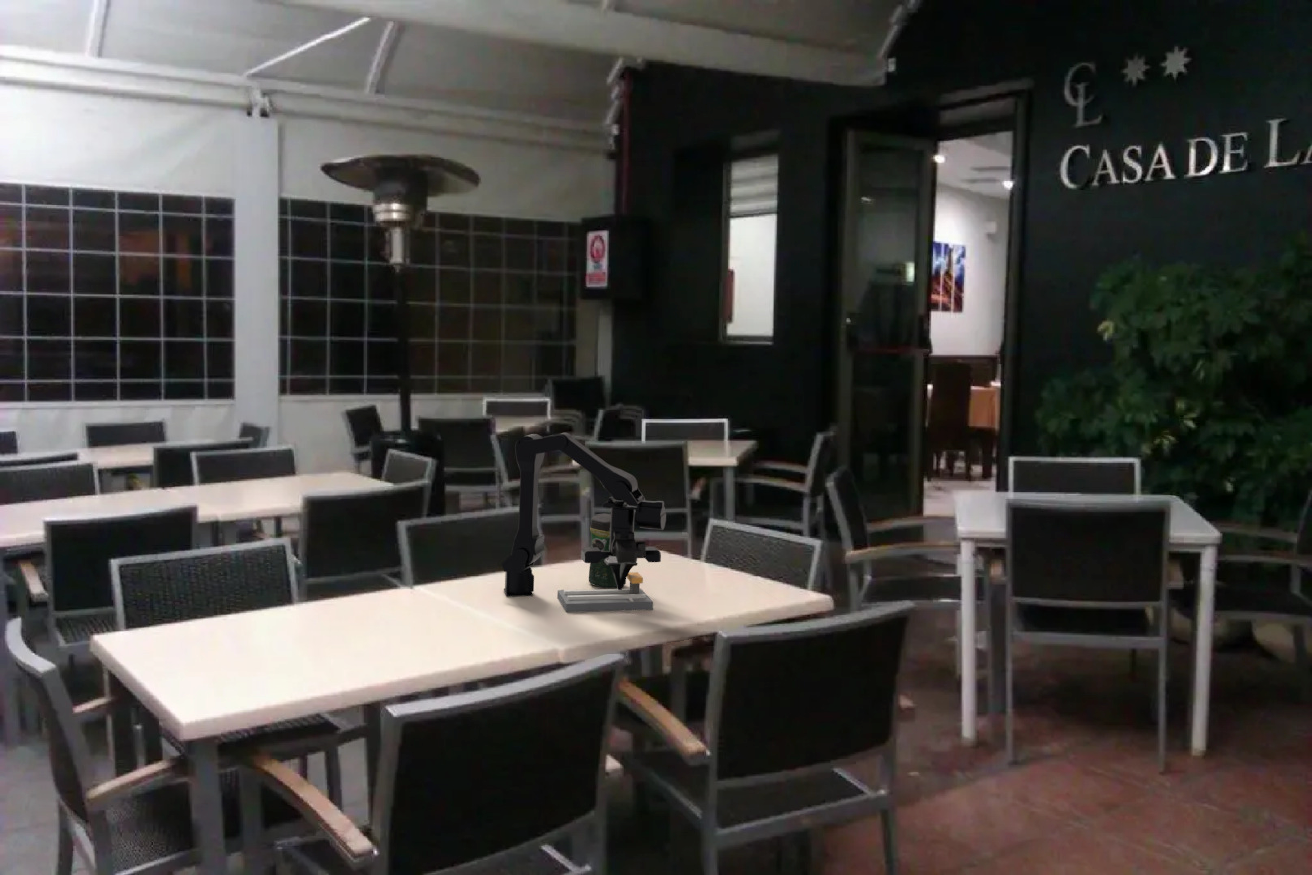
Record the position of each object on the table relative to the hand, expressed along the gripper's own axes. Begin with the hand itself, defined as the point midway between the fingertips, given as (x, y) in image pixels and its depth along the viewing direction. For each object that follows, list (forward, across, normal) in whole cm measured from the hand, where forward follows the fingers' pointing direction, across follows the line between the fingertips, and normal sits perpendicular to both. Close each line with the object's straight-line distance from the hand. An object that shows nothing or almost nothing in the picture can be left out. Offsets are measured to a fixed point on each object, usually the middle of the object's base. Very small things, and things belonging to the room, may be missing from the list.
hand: (619, 589), depth 273 cm
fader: (+1, +4, 0) cm, 4 cm away
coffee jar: (+4, +1, +19) cm, 19 cm away
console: (+4, -4, 0) cm, 5 cm away
